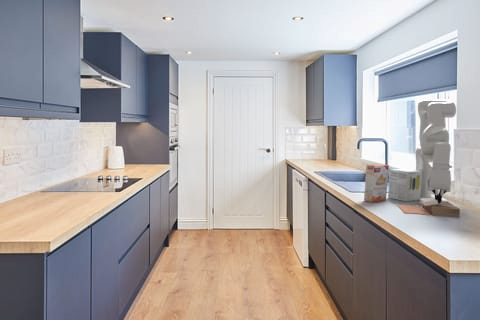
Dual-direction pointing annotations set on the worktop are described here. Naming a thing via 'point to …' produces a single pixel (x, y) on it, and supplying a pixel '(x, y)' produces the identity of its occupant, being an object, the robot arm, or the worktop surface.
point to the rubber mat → (413, 209)
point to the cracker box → (376, 182)
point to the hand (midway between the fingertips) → (437, 202)
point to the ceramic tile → (428, 201)
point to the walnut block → (443, 209)
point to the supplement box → (405, 184)
